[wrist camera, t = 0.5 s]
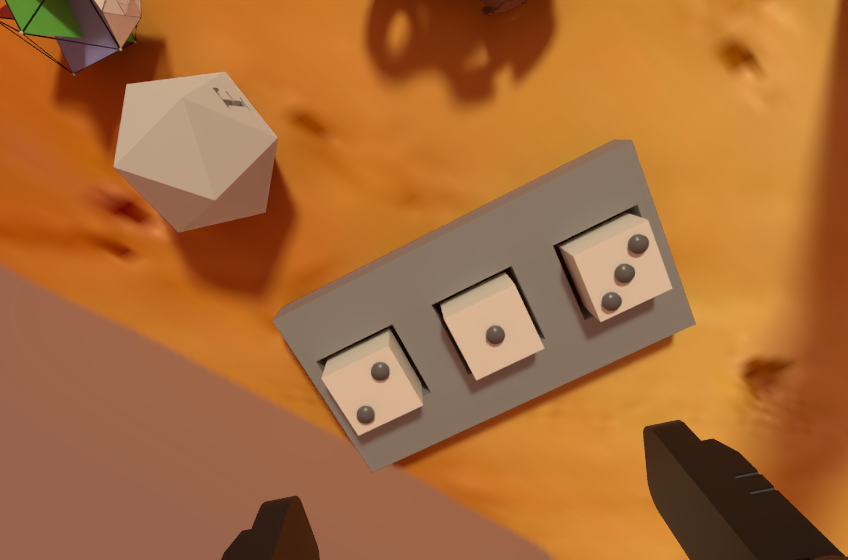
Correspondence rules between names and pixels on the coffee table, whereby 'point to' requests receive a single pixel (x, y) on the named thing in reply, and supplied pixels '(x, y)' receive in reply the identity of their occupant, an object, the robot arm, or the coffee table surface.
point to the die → (195, 150)
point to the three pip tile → (616, 266)
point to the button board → (471, 263)
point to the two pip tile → (373, 382)
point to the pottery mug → (500, 6)
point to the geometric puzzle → (77, 26)
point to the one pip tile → (491, 325)
